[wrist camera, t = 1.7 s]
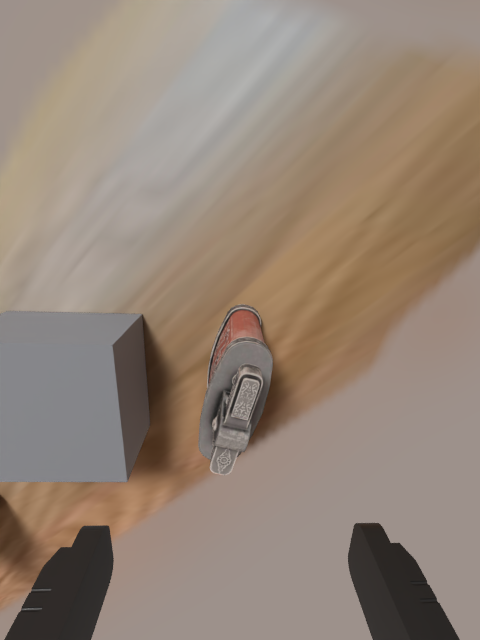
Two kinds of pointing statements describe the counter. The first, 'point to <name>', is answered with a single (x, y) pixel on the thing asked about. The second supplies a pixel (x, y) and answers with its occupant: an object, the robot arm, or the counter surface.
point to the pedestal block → (71, 396)
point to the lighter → (234, 388)
